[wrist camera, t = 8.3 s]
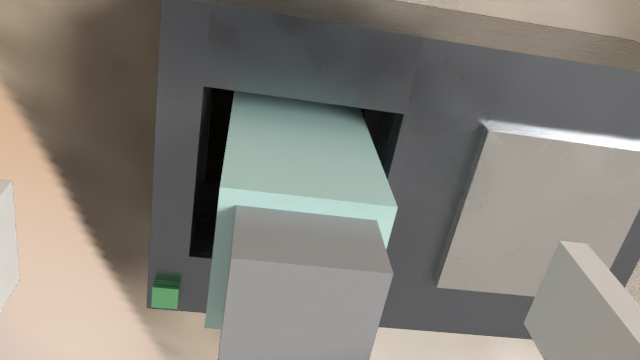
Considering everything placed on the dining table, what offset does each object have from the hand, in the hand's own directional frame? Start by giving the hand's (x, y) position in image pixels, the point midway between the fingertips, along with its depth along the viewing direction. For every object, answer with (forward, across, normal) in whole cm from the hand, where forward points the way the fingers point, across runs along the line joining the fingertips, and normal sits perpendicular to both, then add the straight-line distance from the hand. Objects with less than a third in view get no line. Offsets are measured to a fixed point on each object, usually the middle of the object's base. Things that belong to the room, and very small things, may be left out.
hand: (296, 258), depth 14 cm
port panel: (+8, +4, 0) cm, 9 cm away
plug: (+8, 0, 0) cm, 8 cm away
